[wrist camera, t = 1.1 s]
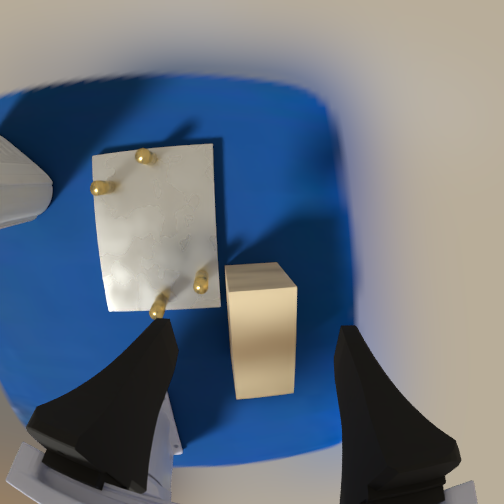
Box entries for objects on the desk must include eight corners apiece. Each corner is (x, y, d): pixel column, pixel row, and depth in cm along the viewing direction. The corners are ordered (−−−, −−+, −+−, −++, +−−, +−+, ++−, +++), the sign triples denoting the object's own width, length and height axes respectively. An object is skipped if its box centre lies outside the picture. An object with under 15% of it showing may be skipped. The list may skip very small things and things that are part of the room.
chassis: (220, 303, 24) (221, 320, 21) (111, 307, 23) (99, 324, 20) (212, 145, 21) (212, 138, 18) (96, 156, 20) (79, 153, 17)
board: (276, 351, 25) (293, 392, 20) (230, 355, 25) (236, 399, 19) (276, 261, 24) (297, 286, 18) (224, 265, 23) (229, 292, 17)
